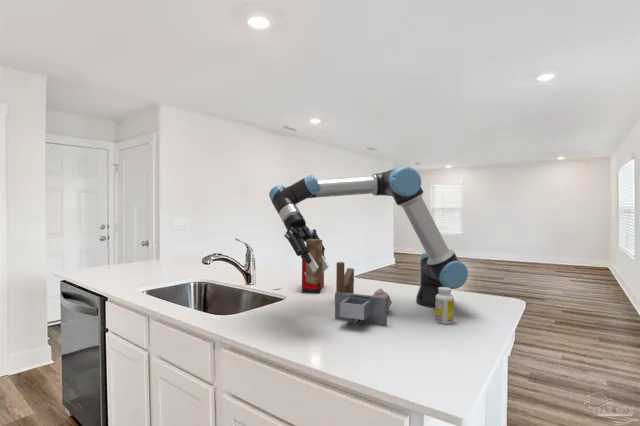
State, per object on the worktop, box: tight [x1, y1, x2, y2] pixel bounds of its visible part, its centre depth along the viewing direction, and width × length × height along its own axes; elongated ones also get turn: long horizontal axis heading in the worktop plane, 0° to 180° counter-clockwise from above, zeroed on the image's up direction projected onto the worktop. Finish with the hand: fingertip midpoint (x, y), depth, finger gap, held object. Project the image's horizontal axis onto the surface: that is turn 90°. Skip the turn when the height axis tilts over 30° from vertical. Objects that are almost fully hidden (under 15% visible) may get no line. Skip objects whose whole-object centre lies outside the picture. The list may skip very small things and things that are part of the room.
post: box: [305, 238, 323, 284], centre depth 127 cm, size 4×4×15 cm
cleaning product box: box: [301, 250, 325, 295], centre depth 188 cm, size 16×9×20 cm, turn 172°
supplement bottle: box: [434, 287, 455, 325], centre depth 138 cm, size 7×7×13 cm
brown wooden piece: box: [335, 261, 355, 294], centre depth 168 cm, size 4×11×18 cm, turn 143°
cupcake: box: [371, 287, 393, 315], centre depth 149 cm, size 9×9×10 cm
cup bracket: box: [334, 291, 388, 327], centre depth 134 cm, size 20×11×10 cm, turn 66°
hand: (321, 269), depth 125 cm, fingers closed on post, 4 cm apart
